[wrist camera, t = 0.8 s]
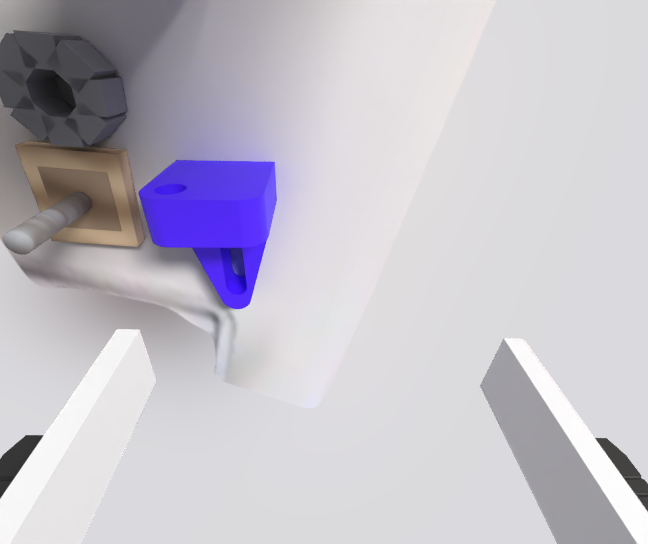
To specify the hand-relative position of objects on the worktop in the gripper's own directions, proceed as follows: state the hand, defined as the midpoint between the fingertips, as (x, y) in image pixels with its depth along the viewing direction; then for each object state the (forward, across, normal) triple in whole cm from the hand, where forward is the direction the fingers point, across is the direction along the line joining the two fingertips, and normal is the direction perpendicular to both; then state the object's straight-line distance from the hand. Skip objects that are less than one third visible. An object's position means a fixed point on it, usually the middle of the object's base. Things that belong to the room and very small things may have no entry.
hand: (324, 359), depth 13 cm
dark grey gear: (+30, -24, +5) cm, 39 cm away
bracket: (+30, -10, -11) cm, 34 cm away
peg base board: (+30, -26, -6) cm, 40 cm away
